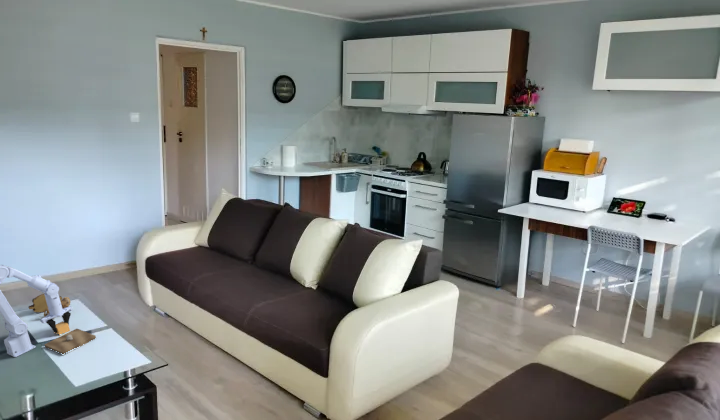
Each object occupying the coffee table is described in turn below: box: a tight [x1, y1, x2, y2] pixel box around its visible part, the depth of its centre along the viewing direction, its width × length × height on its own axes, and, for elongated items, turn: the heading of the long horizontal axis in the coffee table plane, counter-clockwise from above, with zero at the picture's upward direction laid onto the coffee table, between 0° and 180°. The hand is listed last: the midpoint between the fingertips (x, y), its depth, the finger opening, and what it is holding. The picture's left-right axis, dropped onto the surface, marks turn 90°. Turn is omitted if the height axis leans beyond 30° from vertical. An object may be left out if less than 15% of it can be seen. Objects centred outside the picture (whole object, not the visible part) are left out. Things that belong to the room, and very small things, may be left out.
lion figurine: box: [43, 296, 71, 318], centre depth 273 cm, size 15×5×9 cm, turn 131°
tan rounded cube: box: [55, 320, 71, 336], centre depth 257 cm, size 5×5×4 cm
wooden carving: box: [28, 292, 63, 313], centre depth 281 cm, size 16×5×10 cm, turn 141°
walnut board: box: [44, 328, 97, 354], centre depth 246 cm, size 16×16×4 cm
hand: (61, 329), depth 257 cm, fingers closed on tan rounded cube, 5 cm apart
